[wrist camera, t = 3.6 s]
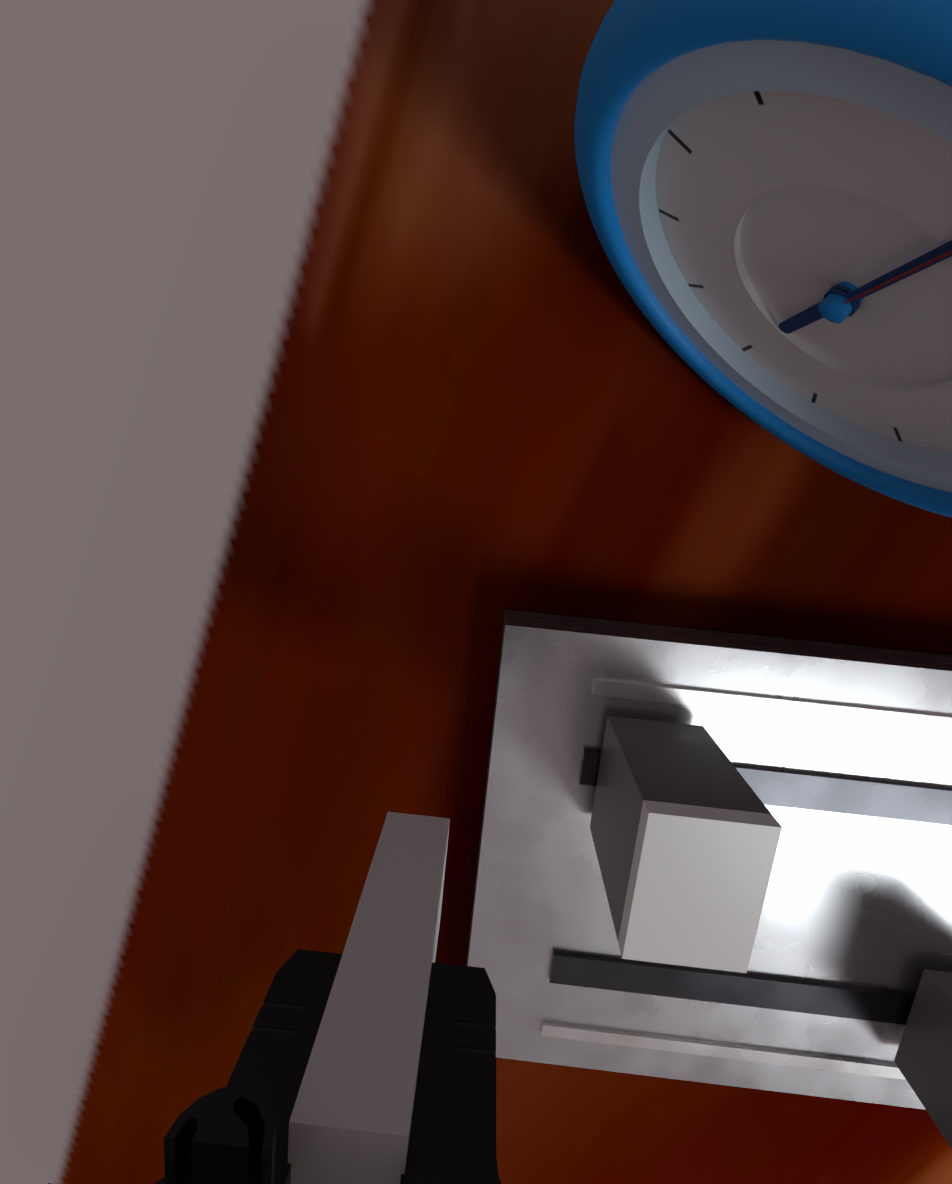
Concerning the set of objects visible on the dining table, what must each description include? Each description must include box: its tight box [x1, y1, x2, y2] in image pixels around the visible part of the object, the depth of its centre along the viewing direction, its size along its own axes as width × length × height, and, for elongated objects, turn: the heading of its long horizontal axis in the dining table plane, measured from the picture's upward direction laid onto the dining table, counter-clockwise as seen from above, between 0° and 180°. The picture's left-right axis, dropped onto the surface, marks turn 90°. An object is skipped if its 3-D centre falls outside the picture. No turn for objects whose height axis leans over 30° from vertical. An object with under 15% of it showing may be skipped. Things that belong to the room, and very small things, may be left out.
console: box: [466, 609, 952, 1110], centre depth 20 cm, size 17×26×2 cm, turn 85°
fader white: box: [590, 716, 782, 973], centre depth 16 cm, size 4×3×5 cm
